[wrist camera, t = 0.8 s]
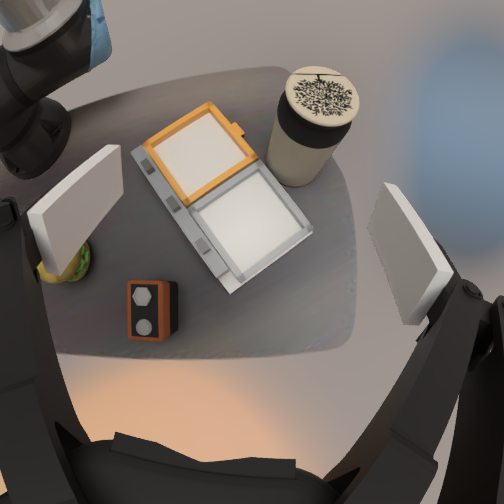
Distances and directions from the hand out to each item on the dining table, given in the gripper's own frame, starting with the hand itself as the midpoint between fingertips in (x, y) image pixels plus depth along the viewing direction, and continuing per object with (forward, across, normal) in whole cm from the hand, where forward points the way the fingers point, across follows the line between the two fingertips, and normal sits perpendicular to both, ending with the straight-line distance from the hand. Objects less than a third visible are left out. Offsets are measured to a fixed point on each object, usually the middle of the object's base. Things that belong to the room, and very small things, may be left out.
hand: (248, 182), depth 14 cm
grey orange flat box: (+25, -4, -14) cm, 29 cm away
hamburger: (+17, -24, -23) cm, 37 cm away
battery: (+14, -10, -26) cm, 31 cm away
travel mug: (+30, +6, -10) cm, 32 cm away
